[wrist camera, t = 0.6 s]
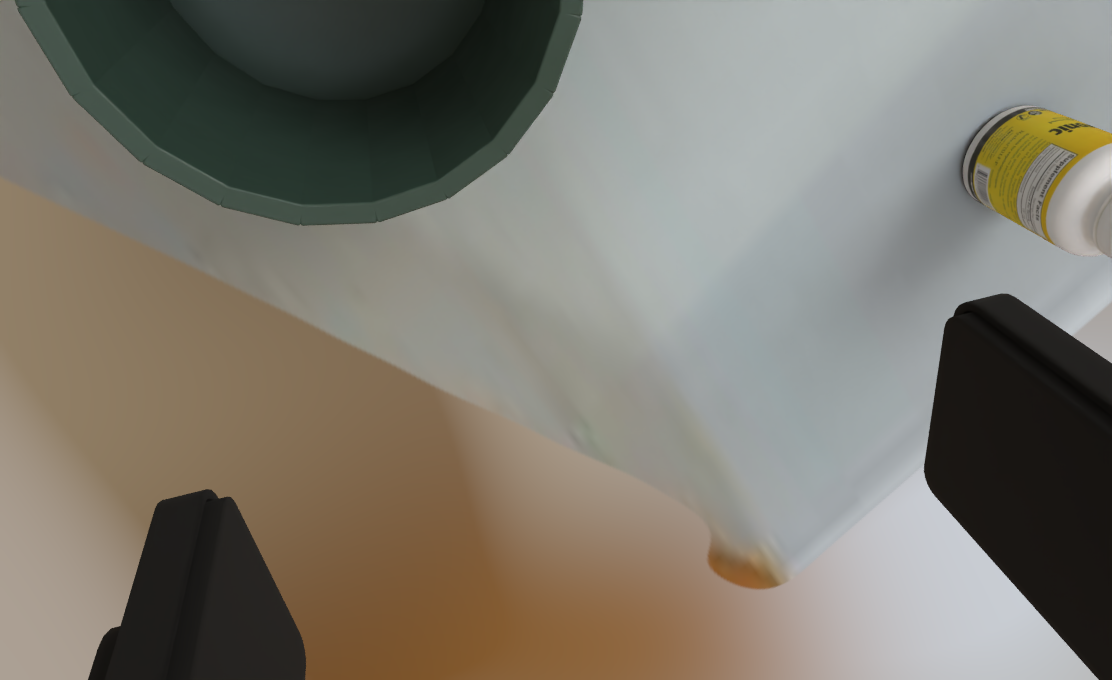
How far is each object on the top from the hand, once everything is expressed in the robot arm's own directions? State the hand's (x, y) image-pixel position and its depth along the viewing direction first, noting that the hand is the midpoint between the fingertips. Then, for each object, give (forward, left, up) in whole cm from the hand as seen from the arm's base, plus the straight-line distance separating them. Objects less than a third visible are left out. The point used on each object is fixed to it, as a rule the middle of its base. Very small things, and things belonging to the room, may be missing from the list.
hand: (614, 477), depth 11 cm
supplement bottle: (-13, +27, -28) cm, 41 cm away
